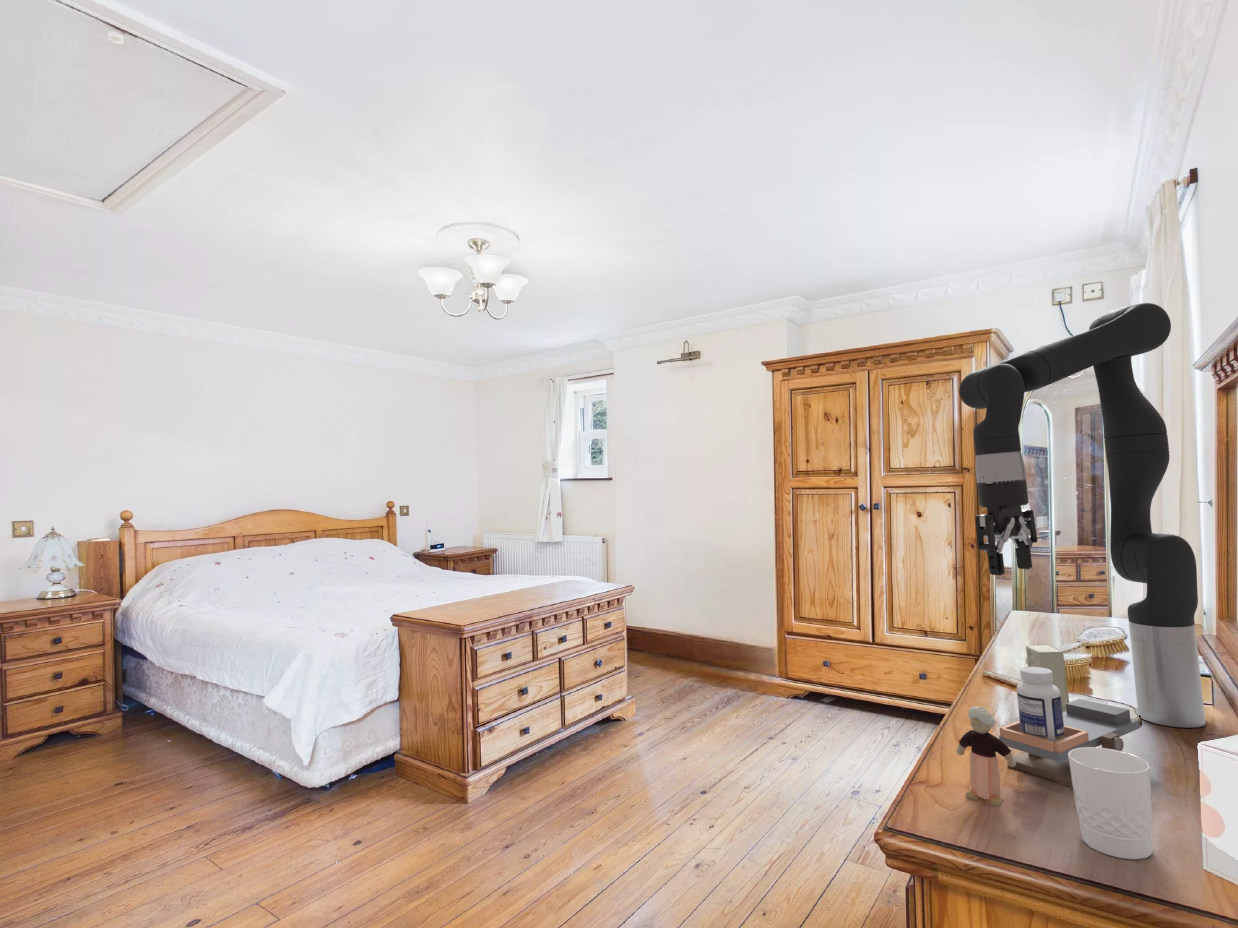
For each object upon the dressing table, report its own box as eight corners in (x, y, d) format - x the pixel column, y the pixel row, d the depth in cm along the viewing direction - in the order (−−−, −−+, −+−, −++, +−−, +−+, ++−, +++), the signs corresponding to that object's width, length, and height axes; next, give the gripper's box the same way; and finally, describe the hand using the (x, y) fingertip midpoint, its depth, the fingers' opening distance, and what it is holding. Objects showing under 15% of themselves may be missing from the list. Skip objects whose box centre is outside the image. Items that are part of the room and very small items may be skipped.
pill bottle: (1051, 731, 96) (1045, 664, 97) (1073, 744, 91) (1066, 674, 92) (1013, 731, 97) (1007, 665, 97) (1032, 745, 91) (1026, 675, 92)
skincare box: (1071, 718, 119) (1065, 651, 119) (1045, 718, 120) (1038, 652, 120) (1056, 708, 125) (1050, 644, 126) (1030, 707, 126) (1024, 644, 126)
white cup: (1164, 869, 72) (1155, 777, 72) (1078, 852, 76) (1069, 765, 77) (1152, 836, 78) (1143, 752, 79) (1073, 823, 83) (1066, 743, 83)
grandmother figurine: (954, 798, 91) (947, 706, 92) (961, 788, 94) (953, 699, 95) (1018, 812, 86) (1009, 715, 87) (1022, 801, 89) (1014, 707, 90)
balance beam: (1079, 713, 106) (1077, 696, 106) (1139, 728, 99) (1138, 709, 99) (999, 744, 95) (997, 724, 96) (1059, 762, 88) (1057, 741, 88)
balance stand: (1044, 750, 105) (1039, 706, 106) (1146, 780, 93) (1141, 730, 93) (1007, 765, 100) (1003, 719, 101) (1110, 799, 88) (1105, 746, 89)
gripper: (1002, 478, 121) (1012, 566, 120) (956, 482, 113) (966, 575, 112) (1045, 475, 114) (1056, 568, 113) (999, 479, 107) (1010, 578, 106)
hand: (1011, 571), depth 113 cm, fingers open, 8 cm apart
